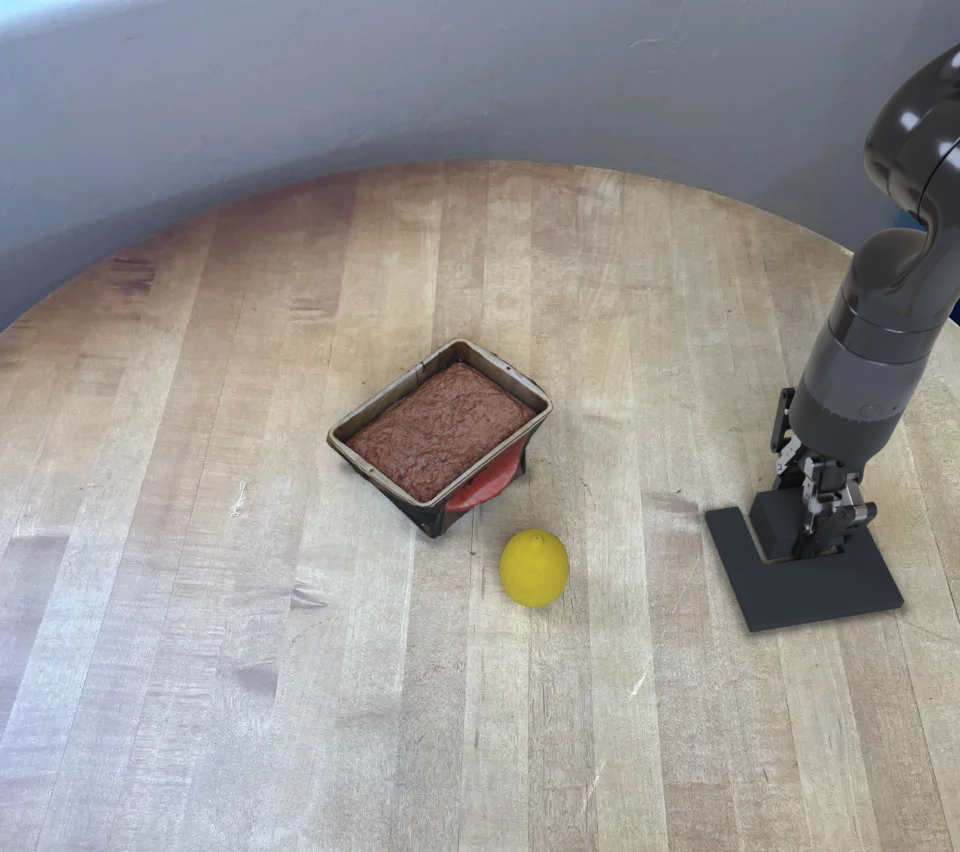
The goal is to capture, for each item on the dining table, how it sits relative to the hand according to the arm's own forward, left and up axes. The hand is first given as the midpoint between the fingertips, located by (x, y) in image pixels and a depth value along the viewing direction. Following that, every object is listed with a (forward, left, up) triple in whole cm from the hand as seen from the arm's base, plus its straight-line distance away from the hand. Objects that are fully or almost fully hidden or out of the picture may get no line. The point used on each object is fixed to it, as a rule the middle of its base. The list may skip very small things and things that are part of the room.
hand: (791, 527), depth 84 cm
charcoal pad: (0, +3, -2) cm, 3 cm away
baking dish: (+28, -13, -2) cm, 31 cm away
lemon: (+23, +2, -2) cm, 23 cm away
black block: (0, 0, -1) cm, 1 cm away
